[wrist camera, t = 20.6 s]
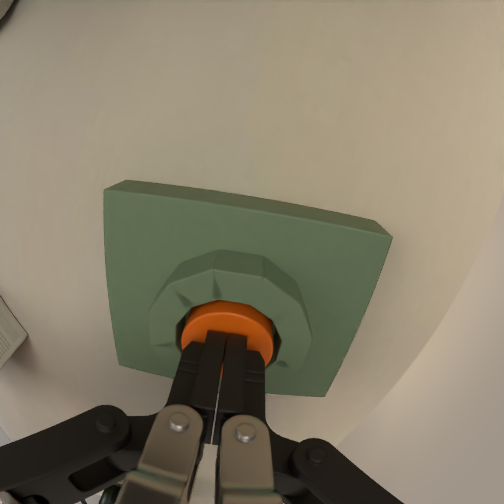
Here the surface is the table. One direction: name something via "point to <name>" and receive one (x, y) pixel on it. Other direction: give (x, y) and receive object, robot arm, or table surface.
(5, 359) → the small box
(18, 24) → the table surface
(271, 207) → the control block
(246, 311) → the button
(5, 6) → the game controller
